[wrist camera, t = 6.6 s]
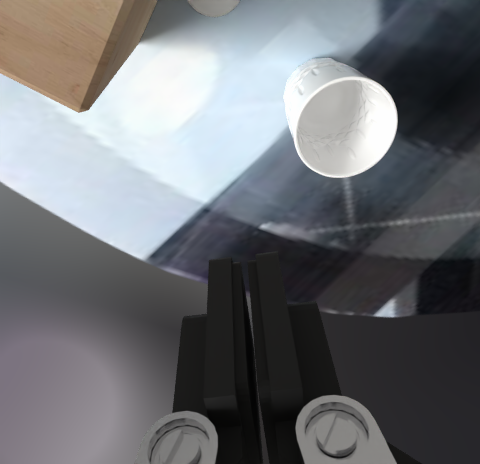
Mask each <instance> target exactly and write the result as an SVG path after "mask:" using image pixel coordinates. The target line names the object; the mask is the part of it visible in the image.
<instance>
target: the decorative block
mask: <svg viewBox="0 0 480 464" xmlns="http://www.w3.org/2000/svg"><path fill="white" fill-rule="evenodd" d="M157 2H158V0H0V73H1V74H3V75H5V76H7V77H9V78H11V79H13V80H15V81H17V82H19V83H21V84H23V85H25V86H27V87H29V88H31V89H33V90H35V91H37V92H39V93H41V94H43V95H45V96H47V97H49V98H51V99H53V100H55V101H57V102H59V103H61V104H63V105H65V106H67V107H69V108H71V109H72V110H74V111H76V112H78V113H80V112H83V111H87V110H89V109H90V107H91V106H92V105H93V103H94V102H95V101H96V99H97V98H98V97H99V95H100V94H101V93H102V91H103V90H104V89H105V87H106V86H107V85H108V84H109V82H110V81H111V79H112V78H113V77H114V75H115V74H116V73H117V71H118V70H119V69H120V67H121V66H122V65H123V63H124V62H125V61H126V60H127V58H128V57H129V56H130V54H131V53H132V52H133V50H134V49H135V48H136V46H137V45H138V44H139V42H140V40H141V37H142V35H143V33H144V31H145V28H146V26H147V24H148V22H149V19H150V17H151V15H152V13H153V10H154V8H155V6H156V4H157Z"/></svg>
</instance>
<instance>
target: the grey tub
mask: <svg viewBox="0 0 480 464" xmlns="http://www.w3.org/2000/svg"><path fill="white" fill-rule="evenodd" d="M187 1H188V2H189V4H190V5H191V6H192V7H193V8H194V9H195V10H196V11H197V12H199V13H200V14H202V15H205V16H209V17H220V16H223V15H226V14H228V13H229V12H231V11H232V10H233V9H234V8H235V7H236V6H237V5H238V3H239V2H240V0H187Z"/></svg>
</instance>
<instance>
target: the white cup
mask: <svg viewBox="0 0 480 464" xmlns="http://www.w3.org/2000/svg"><path fill="white" fill-rule="evenodd" d="M283 98H284V103H285V107H286V116H287V120H288V124H289V128H290V131H291V134H292V137H293V140H294V143H295V147H296V150H297V152H298V154H299V156H300V158H301V159H302V161H303V162H304V163H305V164H306V165H307V166H308V167H309V168H310V169H312V170H313V171H315V172H317V173H319V174H321V175H324V176H328V177H335V178H341V177H349V176H353V175H356V174H359V173H361V172H364V171H366V170H367V169H369V168H371V167H372V166H373V165H375V164H376V163H377V162H378V161H379V160H380V159H381V158H382V157H383V156H384V155H385V154H386V152H387V151H388V149H389V148H390V146H391V144H392V142H393V140H394V137H395V134H396V130H397V124H398V116H397V109H396V106H395V103H394V101H393V99H392V97H391V95H390V94H389V93H388V91H387V90H386V89H385V88H384V87H383V86H381V85H380V84H379V83H377V82H375V81H374V80H372V79H370V78H369V77H367V76H365V75H364V74H362V73H361V72H359V71H357V70H356V69H354V68H352V67H350V66H348V65H346V64H343V63H340V62H338V61H336V60H334V59H331V58H313V59H311V60H309V61H307V62H306V63H304V64H302V65H300V66H298V67H297V68H296V70H295V71H294V72H293V74H292V75H291V76H290V78H289V79H288V80H287V83H286V88H285V92H284V96H283Z"/></svg>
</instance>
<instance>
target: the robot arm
mask: <svg viewBox="0 0 480 464" xmlns="http://www.w3.org/2000/svg"><path fill="white" fill-rule="evenodd" d="M248 273H249V286H250V298H251V309H252V322H253V334H254V347H255V356H254V347H253V338H252V332H251V325H250V319H249V312H248V306H247V299H246V292H245V286H244V279H243V273H242V266H241V262H236V263H233V262H232V258H231V257H229V258H221V259H212V260H209V275H208V300H207V314H202V315H193V316H185V317H184V318H183V320H182V328H181V337H180V347H179V356H178V365H177V374H176V384H175V394H174V403H173V412H172V414H170V415H167V416H165V417H163V418H162V419H160V420H159V421H157V422H156V423H155V424H153V426H152V427H151V428H150V429H149V430H148V432H147V433H146V434H145V436H144V438H143V441H142V443H141V445H140V448H139V451H138V454H137V457H136V460H135V464H263V456H262V444H261V431H260V418H259V406H258V393H257V383H258V392H259V399H260V406H261V412H262V419H263V425H264V431H265V438H266V444H267V450H268V456H269V463H270V464H421V463H420V462H418V461H416V460H415V459H413V458H411V457H410V456H409V455H407V454H405V453H404V452H402V451H401V450H399V449H397V448H396V447H394V446H393V445H391V444H389V443H388V442H386V441H385V439H384V437H383V435H382V433H381V431H380V429H379V428H378V425H377V423H376V422H375V419H374V418H373V417H372V415H371V414H370V412H369V411H368V410H367V409H366V408H365V407H363V406H362V405H361V404H360V403H358V402H357V401H355V400H352V399H350V398H348V397H344V396H342V395H341V391H340V387H339V383H338V380H337V376H336V373H335V368H334V365H333V361H332V357H331V354H330V350H329V346H328V342H327V339H326V335H325V331H324V327H323V323H322V320H321V316H320V312H319V309H318V305H317V303H316V301H313V302H304V303H296V304H287V301H286V296H285V290H284V285H283V279H282V274H281V268H280V263H279V257H278V252H270V253H262V254H256V260H253V261H248ZM255 359H256V369H255ZM256 371H257V382H256Z"/></svg>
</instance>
